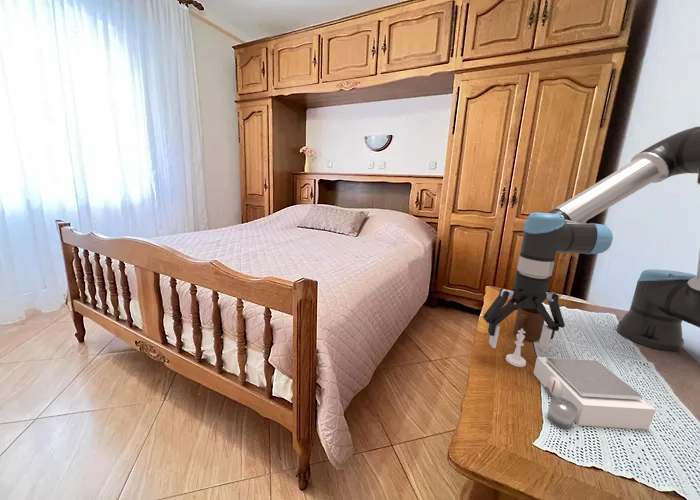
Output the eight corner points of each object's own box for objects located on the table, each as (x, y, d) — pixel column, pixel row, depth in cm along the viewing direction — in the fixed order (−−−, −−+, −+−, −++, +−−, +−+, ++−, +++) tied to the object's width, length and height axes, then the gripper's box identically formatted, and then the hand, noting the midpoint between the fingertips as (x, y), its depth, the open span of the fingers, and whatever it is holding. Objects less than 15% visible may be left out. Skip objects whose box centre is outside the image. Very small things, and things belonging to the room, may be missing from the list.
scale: (588, 376, 74) (593, 358, 72) (648, 429, 58) (656, 407, 57) (531, 373, 74) (535, 355, 73) (575, 425, 59) (581, 403, 57)
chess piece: (528, 368, 76) (536, 334, 74) (508, 365, 77) (515, 332, 75) (522, 357, 81) (528, 325, 79) (503, 354, 82) (509, 323, 80)
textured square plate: (595, 363, 71) (596, 360, 70) (641, 399, 59) (642, 396, 59) (546, 360, 71) (546, 357, 71) (581, 396, 59) (582, 392, 59)
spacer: (563, 412, 62) (567, 397, 61) (578, 430, 58) (582, 413, 57) (542, 411, 62) (546, 396, 61) (555, 428, 58) (559, 412, 57)
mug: (527, 349, 85) (533, 321, 83) (502, 337, 91) (507, 310, 89) (544, 337, 92) (550, 310, 90) (519, 327, 98) (524, 302, 96)
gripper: (572, 271, 76) (555, 342, 81) (478, 266, 77) (466, 336, 82) (594, 281, 69) (573, 358, 74) (490, 275, 70) (476, 352, 75)
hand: (517, 347), depth 78 cm, fingers open, 13 cm apart
